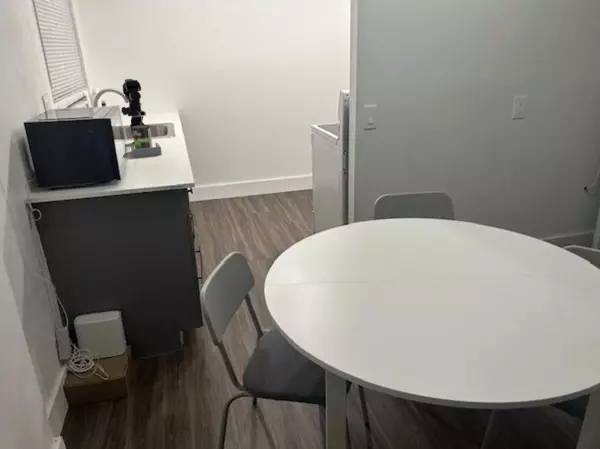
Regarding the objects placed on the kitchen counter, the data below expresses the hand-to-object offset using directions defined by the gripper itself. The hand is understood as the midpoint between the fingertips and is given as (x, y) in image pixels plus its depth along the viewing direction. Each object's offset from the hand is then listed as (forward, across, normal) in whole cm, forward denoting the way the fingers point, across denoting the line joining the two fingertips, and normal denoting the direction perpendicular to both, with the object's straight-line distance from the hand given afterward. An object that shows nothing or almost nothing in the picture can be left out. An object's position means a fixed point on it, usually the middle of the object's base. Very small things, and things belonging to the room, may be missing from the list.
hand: (139, 128), depth 284 cm
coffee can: (+13, +10, +3) cm, 17 cm away
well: (+14, +20, +7) cm, 25 cm away
